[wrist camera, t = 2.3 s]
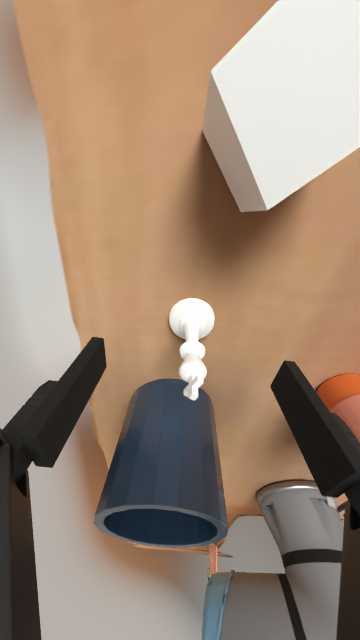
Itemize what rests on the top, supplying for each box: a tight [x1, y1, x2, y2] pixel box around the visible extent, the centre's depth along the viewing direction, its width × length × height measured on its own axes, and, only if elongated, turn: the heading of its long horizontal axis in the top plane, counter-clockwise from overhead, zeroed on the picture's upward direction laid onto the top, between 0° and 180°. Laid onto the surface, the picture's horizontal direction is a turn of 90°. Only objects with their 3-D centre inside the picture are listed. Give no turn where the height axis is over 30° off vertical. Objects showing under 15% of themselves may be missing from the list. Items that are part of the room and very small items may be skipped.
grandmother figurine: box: [207, 543, 218, 580], centre depth 58 cm, size 8×4×13 cm, turn 38°
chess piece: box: [169, 298, 215, 401], centre depth 16 cm, size 5×5×10 cm
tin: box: [94, 379, 228, 548], centre depth 22 cm, size 12×12×12 cm
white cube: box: [202, 0, 360, 212], centre depth 10 cm, size 6×6×6 cm
